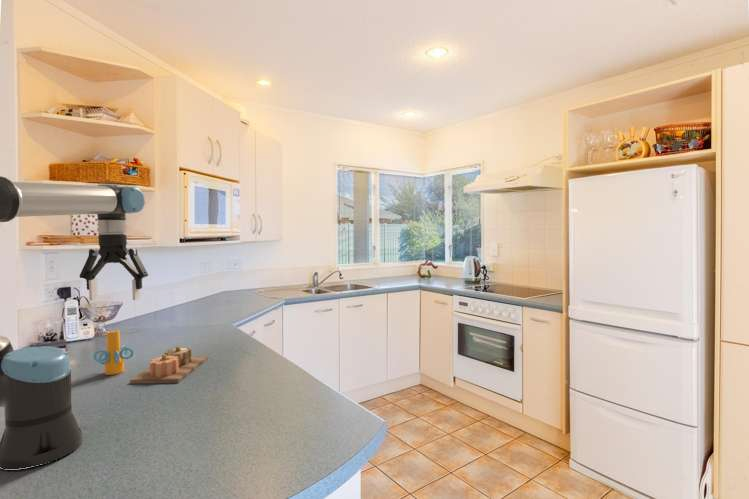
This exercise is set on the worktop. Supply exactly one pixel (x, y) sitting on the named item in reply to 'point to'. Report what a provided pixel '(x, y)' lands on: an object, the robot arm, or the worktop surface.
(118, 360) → the orange post with rings
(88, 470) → the worktop surface
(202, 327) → the worktop surface
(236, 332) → the worktop surface
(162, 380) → the gear board
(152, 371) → the gear
